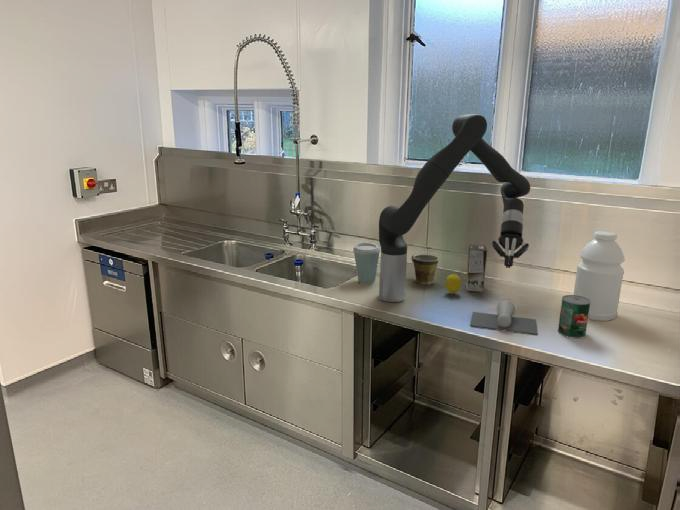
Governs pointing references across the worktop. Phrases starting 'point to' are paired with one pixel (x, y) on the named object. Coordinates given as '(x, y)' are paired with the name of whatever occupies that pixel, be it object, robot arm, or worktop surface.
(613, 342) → the worktop surface
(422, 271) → the ceramic cup
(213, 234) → the worktop surface
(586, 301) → the canned tomato
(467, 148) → the robot arm
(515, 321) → the mat
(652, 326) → the worktop surface
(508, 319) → the salt shaker
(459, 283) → the lemon
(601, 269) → the bottle
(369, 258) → the disposable coffee cup
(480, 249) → the coffee box
